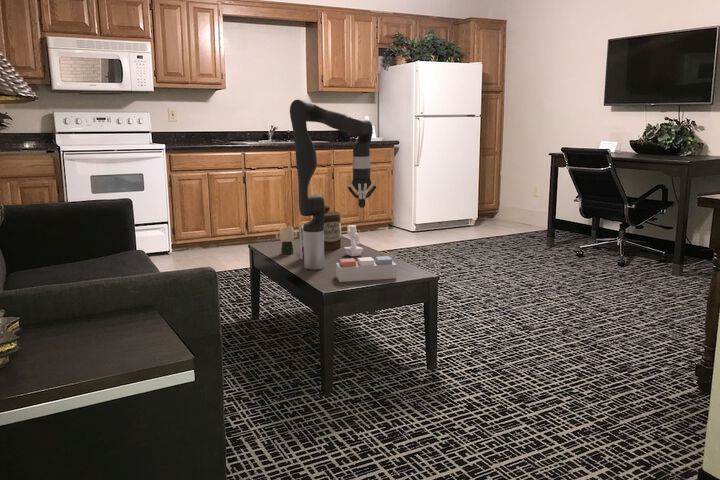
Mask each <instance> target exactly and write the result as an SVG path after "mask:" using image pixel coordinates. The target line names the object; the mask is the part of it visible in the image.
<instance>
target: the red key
mask: <svg viewBox="0 0 720 480" xmlns="http://www.w3.org/2000/svg"><path fill="white" fill-rule="evenodd" d="M356 262H357V261H356V259H355V258H354V257H351V258H339V263H340V266H341V267H354V266H356Z"/></svg>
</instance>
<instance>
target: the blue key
mask: <svg viewBox="0 0 720 480" xmlns="http://www.w3.org/2000/svg"><path fill="white" fill-rule="evenodd" d="M374 261H375V263H376V264H377V265H388V264H392V261H393V258H392V257H390V256H389V255H385V256H383V255H382V256H375V260H374Z"/></svg>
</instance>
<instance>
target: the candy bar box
mask: <svg viewBox="0 0 720 480" xmlns="http://www.w3.org/2000/svg"><path fill="white" fill-rule="evenodd" d="M298 233H299V234H298V235H299V239H298V240H299V252H300V253H299V258H300V260H302V261H304V235H303V225H299V226H298Z"/></svg>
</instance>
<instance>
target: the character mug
mask: <svg viewBox="0 0 720 480" xmlns="http://www.w3.org/2000/svg"><path fill="white" fill-rule="evenodd" d="M294 229H295V228H294V227H291V226H284V227H282V226H281V227H280V228H279V232H276V233H275V239H276V240H280V242H281V246H280V247H281V248H280V249H281V250H280V251H281V254H284V255H287V254H292V253H294V247H293V246H294V245H293V241H294V240H295V238H298V231H297V230H294Z"/></svg>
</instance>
